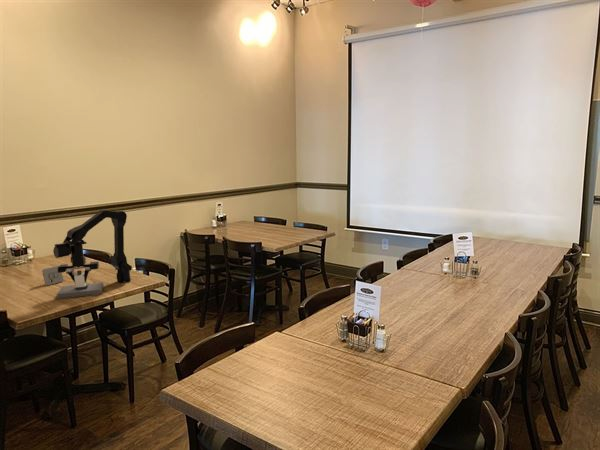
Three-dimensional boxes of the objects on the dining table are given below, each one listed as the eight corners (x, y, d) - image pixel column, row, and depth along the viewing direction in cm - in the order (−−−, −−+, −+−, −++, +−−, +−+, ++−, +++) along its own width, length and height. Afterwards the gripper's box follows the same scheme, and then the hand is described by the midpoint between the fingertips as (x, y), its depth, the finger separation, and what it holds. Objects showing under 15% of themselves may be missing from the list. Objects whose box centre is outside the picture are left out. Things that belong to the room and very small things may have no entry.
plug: (86, 284, 236) (84, 269, 235) (84, 286, 232) (83, 271, 231) (77, 284, 235) (75, 270, 233) (75, 287, 231) (73, 272, 229)
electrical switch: (46, 286, 246) (43, 269, 245) (42, 285, 249) (40, 268, 248) (64, 281, 253) (61, 265, 252) (60, 281, 256) (57, 265, 255)
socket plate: (103, 286, 243) (103, 282, 243) (101, 294, 231) (100, 289, 230) (62, 290, 237) (62, 286, 237) (57, 299, 225) (57, 294, 225)
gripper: (98, 248, 240) (101, 276, 243) (60, 251, 235) (63, 280, 238) (96, 253, 230) (99, 282, 233) (55, 256, 225) (59, 286, 228)
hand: (80, 282), depth 233 cm, fingers closed on plug, 4 cm apart
